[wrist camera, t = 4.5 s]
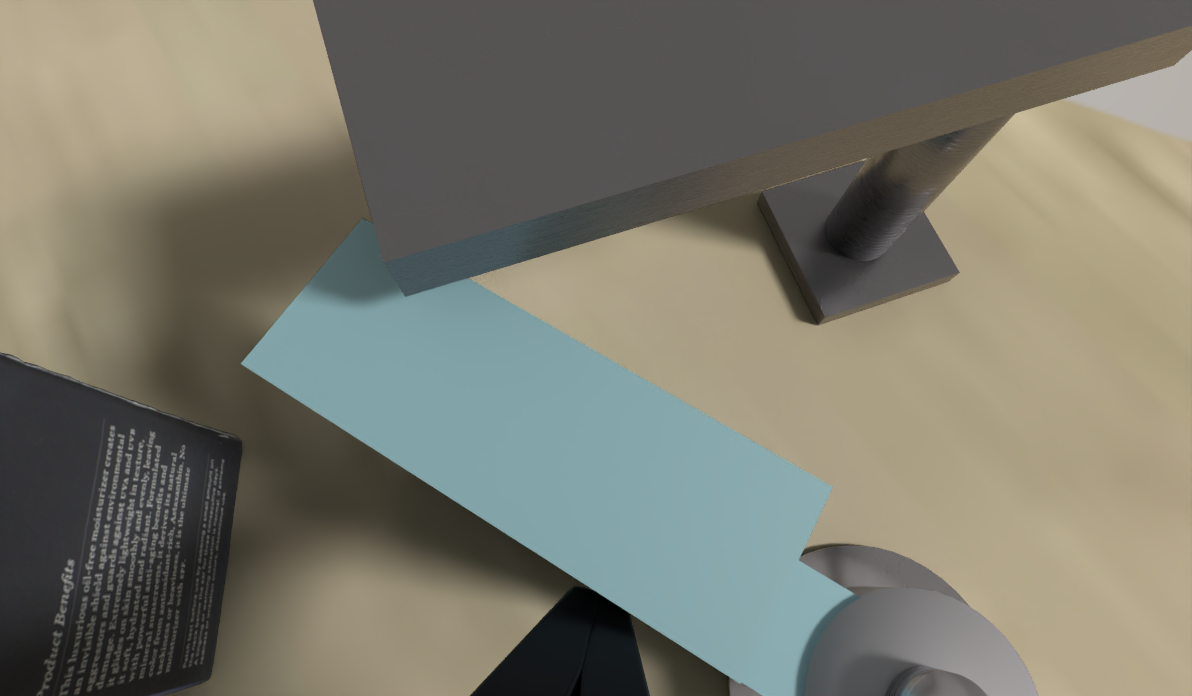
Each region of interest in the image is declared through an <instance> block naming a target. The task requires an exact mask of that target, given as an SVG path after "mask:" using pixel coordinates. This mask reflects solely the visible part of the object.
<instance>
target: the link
mask: <svg viewBox="0 0 1192 696" xmlns="http://www.w3.org/2000/svg"><path fill="white" fill-rule="evenodd" d="M241 364H242V365H243V366H245V367H246V368H248V369H249V370H251V371H253V372H254V373H256V374H257V375H259V376H260V377H262V378H263V379H265V380H267V381H268V382H270V383H271V384H273V385H274V386H276V387H278V388H279V389H281V390H282V391H284V392H285V393H287V394H288V395H290V396H292V397H293V398H295V399H296V400H298V401H299V402H301V403H302V404H304V405H306V406H307V407H309V408H310V409H312V410H313V411H315V412H317V413H318V414H320V415H321V416H323V417H324V418H326V419H327V420H329V421H331V422H332V423H334V424H335V425H337V426H338V427H340V428H341V429H343V430H345V431H346V432H348V433H349V434H351V435H352V436H354V437H356V438H357V439H359V440H360V441H362V442H363V443H365V444H366V445H368V446H370V447H371V448H373V449H374V450H376V451H377V452H379V453H381V454H382V455H384V456H385V457H387V458H388V459H390V460H391V461H393V462H395V463H396V464H398V465H399V466H401V467H402V468H404V469H405V470H407V471H409V472H410V473H412V474H413V475H415V476H416V477H418V478H420V479H421V480H423V481H424V482H426V483H427V484H429V485H430V486H432V487H434V488H435V489H437V490H438V491H440V492H441V493H443V494H444V495H446V496H448V497H449V498H451V499H452V500H454V501H455V502H457V503H459V504H460V505H462V506H463V507H465V508H466V509H468V510H469V511H471V512H473V513H474V514H476V515H477V516H479V517H480V518H482V519H484V520H485V521H487V522H488V523H490V524H491V525H493V526H494V527H496V528H498V529H499V530H501V531H502V532H504V533H505V534H507V535H508V536H510V537H512V538H513V539H515V540H516V541H518V542H519V543H521V544H523V545H524V546H526V547H527V548H529V549H530V550H532V551H533V552H535V553H537V554H538V555H540V556H541V557H543V558H544V559H546V560H547V561H549V562H551V563H552V564H554V565H555V566H557V567H558V568H560V569H562V570H563V571H565V572H566V573H568V574H569V575H571V576H572V577H574V578H576V579H577V580H579V581H580V582H582V583H583V584H585V585H586V586H588V587H590V588H591V589H593V590H594V591H596V592H597V593H599V594H601V595H602V596H604V597H605V598H607V599H608V600H610V601H611V602H613V603H615V604H616V605H618V606H619V607H621V608H622V609H624V610H626V611H627V612H629V613H630V614H632V615H633V616H635V617H636V618H638V619H640V620H641V621H643V622H644V623H646V624H647V625H649V626H650V627H652V628H654V629H655V630H657V631H658V632H660V633H661V634H663V635H665V636H666V637H668V638H669V639H671V640H672V641H674V642H675V643H677V644H679V645H680V646H682V647H683V648H685V649H686V650H688V651H689V652H691V653H693V654H694V655H696V656H697V657H699V658H700V659H702V660H704V661H705V662H707V663H708V664H710V665H711V666H713V667H714V668H716V669H718V670H719V671H721V672H722V673H724V674H725V675H727V676H729V677H730V678H732V679H733V680H735V681H736V682H738V683H739V684H741V683H743V684H745V685H747V686H748V687H750V688H751V689H753V690H754V691H756V692H757V693H759V694H761V695H762V696H886V692H887V689H888V687H889V685H890V683H891V682H892V681H893V679H894V678H895V677H896V676H897V675H898V674H899V673H901V672H902V671H904V670H906V669H908V668H911V667H915V666H928V667H933V668H936V669H940V670H944V671H948V672H952V673H956V674H959V675H962V676H964V677H966V678H968V679H970V680H971V681H973V682H974V683H975V684H977V685H978V686H979V687H980V688H981V689H982V690H983V691H984V692H985V693H986V694H987V696H1038V693H1037V690H1036V687H1035V685H1034V682H1033V680H1032V678H1031V676H1030V674H1029V672H1028V670H1027V668H1026V666H1025V664H1024V662H1023V661H1022V659H1021V658H1020V656H1019V654H1018V653H1017V651H1016V650H1015V649H1014V647H1013V646H1012V645H1011V643H1010V642H1009V641H1008V640H1007V638H1006V637H1005V636H1004V635H1003V634H1002V633H1001V632H1000V631H999V630H998V629H997V628H996V627H995V626H994V625H993V624H992V623H991V622H990V621H989V620H987V619H986V618H985V617H984V616H983V615H981V614H980V613H978V612H977V611H975V610H974V609H972V608H971V607H969V606H968V605H966V604H964V603H962V602H960V601H958V600H956V599H954V598H952V597H949V596H947V595H944V594H941V593H938V592H934V591H929V590H925V589H915V588H895V587H865V586H860V587H847V588H844V587H842V586H841V585H839V584H837V583H836V582H834V581H832V580H831V579H829V578H827V577H826V576H824V575H822V574H821V573H819V572H817V571H816V570H814V569H812V568H811V567H809V566H807V565H805V564H804V563H802V562H800V561H799V558H800V556H801V554H802V552H803V550H804V548H805V546H806V543H807V541H808V539H809V537H810V535H811V533H812V531H813V528H814V526H815V524H816V522H817V520H818V518H819V516H820V513H821V511H822V509H823V507H824V505H825V503H826V501H827V498H828V496H829V494H830V492H831V490H832V488H833V487H832V486H830V485H828V484H826V483H825V482H823V481H821V480H819V479H818V478H816V477H814V476H812V475H811V474H809V473H807V472H806V471H804V470H802V469H800V468H799V467H797V466H795V465H793V464H792V463H790V462H788V461H786V460H785V459H783V458H781V457H779V456H778V455H776V454H774V453H772V452H771V451H769V450H767V449H765V448H764V447H762V446H760V445H758V444H757V443H755V442H753V441H751V440H750V439H748V438H746V437H744V436H743V435H741V434H739V433H737V432H736V431H734V430H732V429H730V428H729V427H727V426H725V425H723V424H722V423H720V422H718V421H716V420H715V419H713V418H711V417H709V416H708V415H706V414H704V413H702V412H701V411H699V410H697V409H695V408H694V407H692V406H690V405H689V404H687V403H685V402H683V401H682V400H680V399H678V398H676V397H675V396H673V395H671V394H669V393H668V392H666V391H664V390H662V389H661V388H659V387H657V386H655V385H654V384H652V383H650V382H648V381H647V380H645V379H643V378H641V377H640V376H638V375H636V374H634V373H633V372H631V371H629V370H627V369H626V368H624V367H622V366H620V365H619V364H617V363H615V362H613V361H612V360H610V359H608V358H606V357H605V356H603V355H601V354H599V353H598V352H596V351H594V350H592V349H591V348H589V347H587V346H585V345H584V344H582V343H580V342H578V341H577V340H575V339H573V338H572V337H570V336H568V335H566V334H565V333H563V332H561V331H559V330H558V329H556V328H554V327H552V326H551V325H549V324H547V323H545V322H544V321H542V320H540V319H538V318H537V317H535V316H533V315H531V314H530V313H528V312H526V311H524V310H523V309H521V308H519V307H517V306H516V305H514V304H512V303H510V302H509V301H507V300H505V299H503V298H502V297H500V296H498V295H496V294H495V293H493V292H491V291H489V290H488V289H486V288H484V287H482V286H481V285H479V284H477V283H475V282H474V281H472V280H470V279H468V278H467V279H463V280H460V281H457V282H453V283H450V284H447V285H443V286H440V287H437V288H433V289H430V290H427V291H423V292H420V293H417V294H414V295H410V296H407V297H405V296H404V294H403V293H402V291H401V289H400V288H399V286H398V285H397V283H396V281H395V280H394V278H393V277H392V275H391V274H390V272H389V270H388V269H387V267H386V266H385V264H384V262H383V259H382V255H381V251H380V248H379V244H378V240H377V236H376V233H375V229H374V225H373V224H372V223H371V222H369V221H367V220H365V219H364V218H362V219H361V220H360V221H359V223H358V224H357V225H356V226H355V227H354V229H353V230H352V231H351V232H350V233H349V235H348V236H347V237H346V238H345V239H344V241H343V242H342V243H341V244H340V245H339V247H338V248H337V249H336V250H335V251H334V253H333V254H332V255H331V256H330V257H329V259H328V260H327V261H326V262H325V263H324V265H323V266H322V267H321V268H320V269H319V271H318V272H317V273H316V274H315V275H314V277H313V278H312V279H311V280H310V281H309V283H308V284H307V285H306V286H305V287H304V289H303V290H302V291H301V292H300V293H299V295H298V296H297V297H296V298H295V299H294V301H293V302H292V303H291V304H290V305H289V307H288V308H287V309H286V310H285V311H284V313H283V314H282V315H281V316H280V317H279V319H278V320H277V321H276V322H275V323H274V325H273V326H272V327H271V328H270V329H269V331H268V332H267V333H266V334H265V335H264V337H263V338H262V339H261V340H260V341H259V343H258V344H257V345H256V346H255V347H254V349H253V350H252V351H251V352H250V353H249V355H248V356H247V357H246V358H245V359H244V361H243V362H242V363H241Z"/></svg>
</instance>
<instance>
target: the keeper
mask: <svg viewBox="0 0 1192 696" xmlns="http://www.w3.org/2000/svg"><path fill="white" fill-rule="evenodd" d="M313 2H314V6H315V10H316V13H317V17H318V21H319V24H320V28H321V32H322V36H323V39H324V43H325V47H326V50H327V54H328V58H329V62H330V65H331V69H332V73H333V77H334V80H335V84H336V88H337V91H338V95H339V99H340V103H341V106H342V110H343V114H344V117H345V121H346V125H347V129H348V132H349V136H350V140H351V143H352V147H353V151H354V155H355V158H356V162H357V166H358V169H359V173H360V177H361V181H362V184H363V188H364V192H365V196H366V199H367V203H368V207H369V210H370V214H371V218H372V222H373V225H374V229H375V233H376V236H377V240H378V244H379V248H380V251H381V255H382V259H383V262H384V264H385V266H386V267H387V269H388V270H389V272H390V274H391V275H392V277H393V278H394V280H395V281H396V283H397V285H398V286H399V288H400V289H401V291H402V293H403V294H404V296H405V297H407V296H410V295H414V294H417V293H420V292H423V291H427V290H430V289H433V288H437V287H440V286H443V285H447V284H450V283H453V282H457V281H460V280H463V279H467V278H470V277H473V276H477V275H480V274H483V273H487V272H490V271H493V270H497V269H500V268H503V267H506V266H510V265H513V264H516V263H520V262H523V261H526V260H530V259H533V258H536V257H540V256H543V255H546V254H550V253H553V252H556V251H560V250H563V249H566V248H570V247H573V246H576V245H579V244H583V243H586V242H589V241H593V240H596V239H599V238H603V237H606V236H609V235H613V234H616V233H619V232H623V231H626V230H629V229H633V228H636V227H639V226H643V225H646V224H649V223H652V222H656V221H659V220H662V219H666V218H669V217H672V216H676V215H679V214H682V213H686V212H689V211H692V210H696V209H699V208H702V207H706V206H709V205H712V204H716V203H719V202H722V201H725V200H729V199H732V198H735V197H739V196H742V195H745V194H749V193H752V192H755V191H759V190H762V189H765V188H769V187H772V186H775V185H779V184H782V183H785V182H789V181H792V180H795V179H798V178H802V177H805V176H808V175H812V174H815V173H818V172H822V171H825V170H828V169H832V168H835V167H838V166H842V165H845V164H848V163H852V162H855V161H858V160H862V159H865V158H867V160H865V161H862V162H859V163H856V164H852V165H849V166H846V167H842V168H839V169H836V170H832V171H829V172H826V173H822V174H819V175H816V176H812V177H809V178H806V179H803V180H799V181H796V182H793V183H789V184H786V185H783V186H779V187H776V188H773V189H769V190H766V191H763V192H762V193H761V195H760V197H759V200H758V202H757V203H758V205H759V207H760V209H761V211H762V213H763V215H764V217H765V219H766V221H767V223H768V225H769V227H770V229H771V231H772V233H773V235H774V237H775V239H776V241H777V243H778V245H779V247H780V249H781V251H782V253H783V255H784V257H785V259H786V261H787V263H788V265H789V267H790V269H791V271H792V273H793V275H794V277H795V279H796V281H797V283H798V285H799V287H800V289H801V291H802V293H803V295H804V298H805V300H806V302H807V304H808V306H809V308H810V310H811V312H812V314H813V316H814V318H815V320H816V322H817V324H818V325H820V324H823V323H826V322H829V321H832V320H835V319H838V318H841V317H844V316H847V315H850V314H853V313H856V312H859V311H862V310H865V309H868V308H871V307H874V306H877V305H880V304H883V303H886V302H889V301H892V300H895V299H898V298H901V297H904V296H907V295H910V294H913V293H916V292H919V291H922V290H925V289H928V288H930V287H933V286H936V285H939V284H942V283H945V282H948V281H950V280H951V279H952V278H954V277H955V276H956V275H957V274H959V273H960V272H959V271H958V269H957V267H956V266H955V264H954V262H953V260H952V259H951V257H950V255H949V254H948V252H947V250H946V249H945V247H944V245H943V244H942V242H941V240H940V238H939V237H938V235H937V233H936V232H935V230H934V228H933V227H932V225H931V223H930V222H929V220H928V218H927V216H926V215H925V213H924V211H925V210H926V209H927V208H928V206H929V205H930V204H931V203H932V202H933V201H934V200H935V199H936V198H937V197H938V196H939V195H940V194H941V193H942V191H943V190H944V189H945V188H946V187H947V186H948V185H949V184H950V183H951V182H952V181H953V180H954V179H955V177H956V176H957V175H958V174H959V173H960V172H961V171H962V170H963V169H964V168H965V167H966V166H967V165H968V164H969V162H970V161H971V160H972V159H973V158H974V157H975V156H976V155H977V154H978V153H979V152H980V151H981V150H982V149H983V147H984V146H985V145H986V144H987V143H988V142H989V141H990V140H991V139H992V138H993V137H994V136H995V135H996V133H997V132H998V131H999V130H1000V129H1001V128H1002V127H1003V126H1004V125H1005V124H1006V123H1007V122H1008V121H1009V120H1010V118H1011V117H1012V116H1013V115H1014V114H1015V113H1017V112H1021V111H1024V110H1027V109H1031V108H1034V107H1037V106H1041V105H1044V104H1047V103H1051V102H1054V101H1057V100H1061V99H1064V98H1067V97H1071V96H1074V95H1077V94H1081V93H1084V92H1087V91H1090V90H1094V89H1097V88H1100V87H1104V86H1107V85H1110V84H1114V83H1117V82H1120V81H1124V80H1127V79H1130V78H1134V77H1137V76H1140V75H1144V74H1147V73H1150V72H1153V71H1157V70H1160V69H1163V68H1167V67H1170V66H1173V65H1175V64H1176V63H1177V62H1178V61H1180V59H1182V58H1183V57H1184V56H1185V55H1186V54H1188V53H1189V52H1190V51H1191V50H1192V0H313Z"/></svg>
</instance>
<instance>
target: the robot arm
mask: <svg viewBox="0 0 1192 696" xmlns="http://www.w3.org/2000/svg"><path fill="white" fill-rule="evenodd" d="M470 696H650V694H649V690H648V686H647V682H646V678H645V674H644V670H643V666H642V662H641V658H640V654H639V650H638V646H637V642H636V638H635V634H634V629H633V625H632V621H631V617H630V613H629V612H627V611H626V610H624V609H622V608H621V607H619V606H618V605H616V604H615V603H613V602H611V601H610V600H608V599H607V598H605V597H604V596H602V595H601V594H599V593H597V592H596V591H594V590H591V589H588V588H585V587H582V586H579V585H575V586H573V587H572V588H571V589H570V590H569V591H568V592H567V593H566V594H565V595H564V596H563V597H562V598H561V599H560V600H559V601H558V602H557V603H556V604H555V606H554V607H553V608H552V609H551V610H550V611H549V612H548V613H547V614H546V615H545V616H544V617H543V618H542V619H541V620H540V622H539V623H538V624H537V625H536V626H535V627H534V628H533V629H532V630H531V631H530V632H529V633H528V634H527V635H526V636H525V638H524V639H523V640H522V641H521V642H520V643H519V644H518V645H517V646H516V647H515V648H514V649H513V650H512V651H511V652H510V653H509V655H508V656H507V657H506V658H505V659H504V660H503V661H502V662H501V663H500V664H499V665H498V666H497V667H496V668H495V669H494V671H493V672H492V673H491V674H490V675H489V676H488V677H487V678H486V679H485V680H484V681H483V682H482V683H481V684H480V685H479V686H478V688H477V689H476V690H475V691H474V692H473V693H472V694H471V695H470Z"/></svg>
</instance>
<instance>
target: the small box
mask: <svg viewBox="0 0 1192 696" xmlns="http://www.w3.org/2000/svg"><path fill="white" fill-rule="evenodd" d="M241 454H242V441H241V440H240V439H239V438H238V437H237V436H236V435H233V434H230V433H227V432H222V431H219V430H216V429H213V428H211V427H207V426H203V425H200V424H197V423H194V422H192V421H187V420H185V419H183V418H180V417H177V416H175V415H172V414H169V413H165V412H162V411H159V410H157V409H155V408H153V407H150V406H147V405H144V404H141V403H139V402H136V401H133V400H129V399H127V398H124V397H122V396H119V395H116V394H113V393H110V392H108V391H106V390H103V389H100V388H97V387H94V386H91V385H89V384H86V383H83V382H80V381H77V380H75V379H73V378H71V377H69V376H66V375H62V374H59V373H55V372H52V371H49V370H46V369H45V368H42V367H40V366H38V365H34V364H31V363H27V362H23V361H22V360H20V359H19V358H17V357H15V356H13V355H10V354H4V353H0V696H163V695H166V694H170V693H173V692H176V691H179V690H182V689H186V688H189V687H192V686H195V685H198V684H201V683H203V682H205V681H207V680H208V679H209V678H210V676H211V672H212V667H213V662H214V654H215V648H216V641H217V634H218V626H219V620H220V613H221V604H222V596H223V590H224V583H225V575H226V568H227V561H228V554H229V546H230V537H231V529H232V522H233V513H234V506H235V498H236V491H237V484H238V475H239V468H240V460H241Z"/></svg>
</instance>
